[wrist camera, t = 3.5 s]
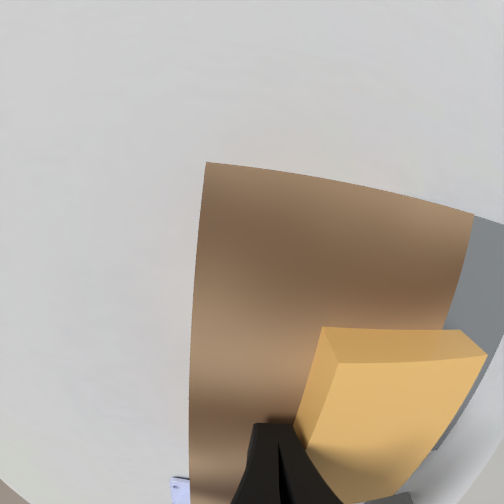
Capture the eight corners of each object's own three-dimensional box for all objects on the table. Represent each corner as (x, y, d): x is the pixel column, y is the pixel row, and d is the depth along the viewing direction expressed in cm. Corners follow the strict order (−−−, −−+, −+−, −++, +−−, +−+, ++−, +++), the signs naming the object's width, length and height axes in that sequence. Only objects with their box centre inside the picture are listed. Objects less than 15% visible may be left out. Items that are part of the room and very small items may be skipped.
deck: (327, 463, 17) (337, 507, 13) (197, 458, 16) (190, 505, 12) (419, 200, 12) (474, 214, 8) (219, 164, 12) (205, 162, 8)
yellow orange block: (382, 468, 12) (392, 495, 10) (273, 478, 11) (276, 509, 10) (459, 329, 9) (488, 354, 7) (322, 326, 9) (338, 363, 7)
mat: (435, 446, 17) (437, 449, 17) (313, 464, 17) (314, 468, 16) (529, 234, 13) (533, 235, 12) (402, 196, 12) (406, 197, 12)
